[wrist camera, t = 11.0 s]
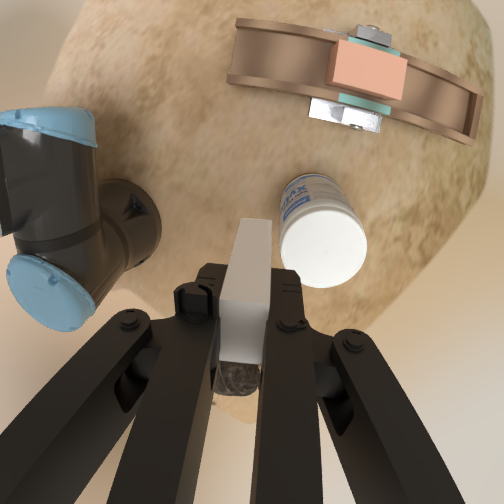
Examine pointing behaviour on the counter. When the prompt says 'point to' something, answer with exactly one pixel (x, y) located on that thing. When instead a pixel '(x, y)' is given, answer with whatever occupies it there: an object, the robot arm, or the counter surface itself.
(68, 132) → the robot arm
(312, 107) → the stand
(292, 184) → the supplement tub
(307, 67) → the beam
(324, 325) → the counter surface
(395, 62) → the block
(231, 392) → the rock
